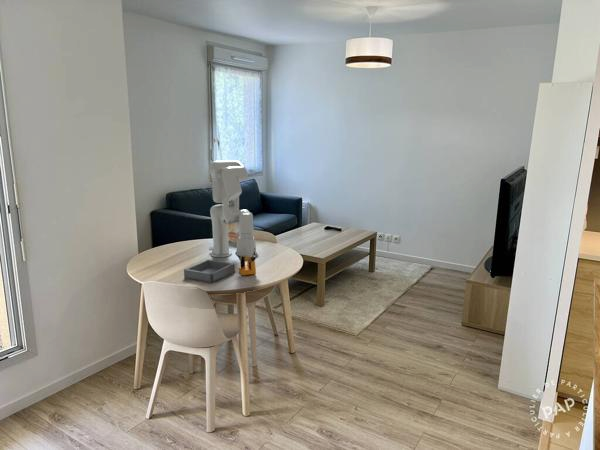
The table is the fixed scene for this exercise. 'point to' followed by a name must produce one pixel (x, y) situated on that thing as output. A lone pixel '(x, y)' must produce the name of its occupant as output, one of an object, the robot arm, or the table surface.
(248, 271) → the bracket
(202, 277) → the tray
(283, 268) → the table surface
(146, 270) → the table surface
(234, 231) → the coffeecake box
